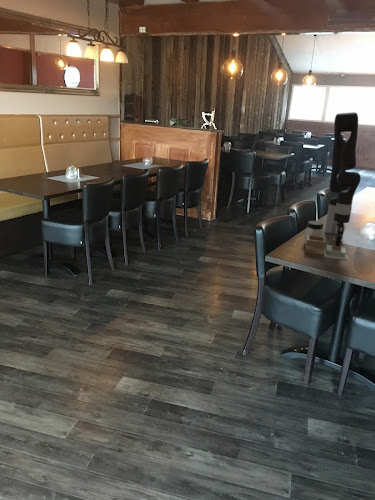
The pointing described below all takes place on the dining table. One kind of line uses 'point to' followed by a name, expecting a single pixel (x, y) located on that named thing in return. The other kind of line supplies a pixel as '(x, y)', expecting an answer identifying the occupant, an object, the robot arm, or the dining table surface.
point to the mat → (344, 256)
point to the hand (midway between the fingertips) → (337, 243)
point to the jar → (314, 229)
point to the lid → (336, 248)
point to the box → (315, 245)
